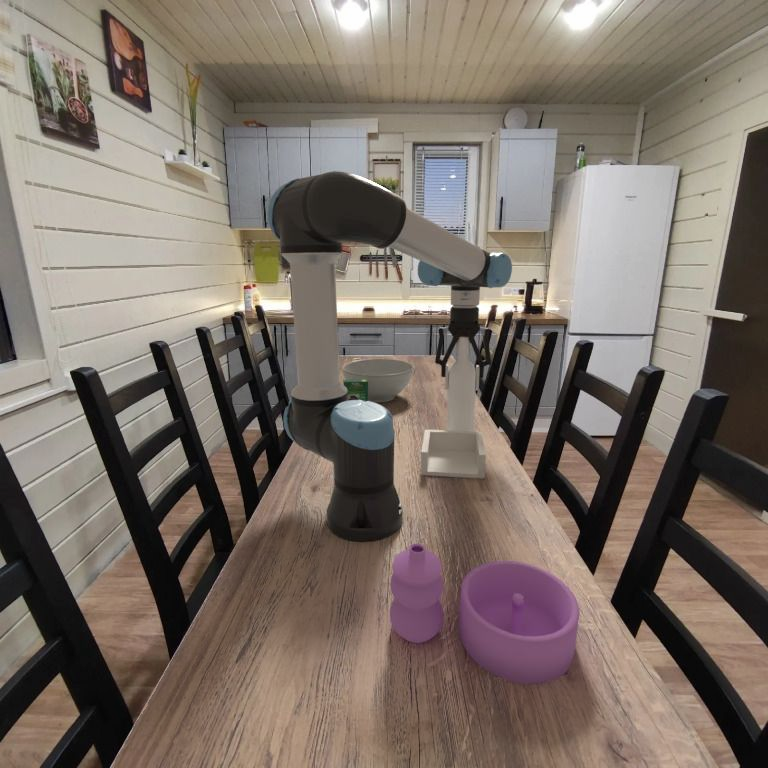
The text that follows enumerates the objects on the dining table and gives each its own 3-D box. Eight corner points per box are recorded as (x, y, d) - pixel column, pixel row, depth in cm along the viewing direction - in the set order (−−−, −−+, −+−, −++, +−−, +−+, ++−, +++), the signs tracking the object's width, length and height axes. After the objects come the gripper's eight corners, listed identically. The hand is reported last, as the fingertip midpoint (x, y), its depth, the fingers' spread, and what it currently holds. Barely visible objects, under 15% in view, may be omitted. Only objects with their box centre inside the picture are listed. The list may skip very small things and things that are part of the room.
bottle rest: (484, 478, 108) (485, 455, 107) (420, 474, 110) (421, 452, 109) (480, 452, 123) (481, 431, 121) (424, 450, 125) (424, 429, 123)
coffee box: (368, 416, 151) (367, 378, 148) (369, 419, 149) (368, 380, 145) (343, 418, 150) (342, 379, 147) (344, 421, 147) (342, 381, 144)
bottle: (473, 445, 127) (478, 338, 119) (444, 443, 129) (448, 338, 121) (473, 435, 135) (478, 334, 127) (446, 433, 136) (449, 333, 129)
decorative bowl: (410, 387, 185) (411, 358, 182) (417, 408, 160) (417, 374, 156) (344, 388, 185) (343, 359, 182) (340, 409, 159) (339, 375, 156)
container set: (556, 599, 70) (564, 523, 67) (590, 689, 55) (603, 597, 52) (393, 590, 72) (393, 516, 69) (385, 674, 58) (384, 585, 54)
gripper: (425, 307, 120) (423, 391, 126) (506, 308, 117) (500, 393, 123) (426, 304, 127) (425, 384, 133) (502, 305, 124) (498, 386, 130)
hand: (461, 388), depth 128 cm, fingers closed on bottle, 8 cm apart
